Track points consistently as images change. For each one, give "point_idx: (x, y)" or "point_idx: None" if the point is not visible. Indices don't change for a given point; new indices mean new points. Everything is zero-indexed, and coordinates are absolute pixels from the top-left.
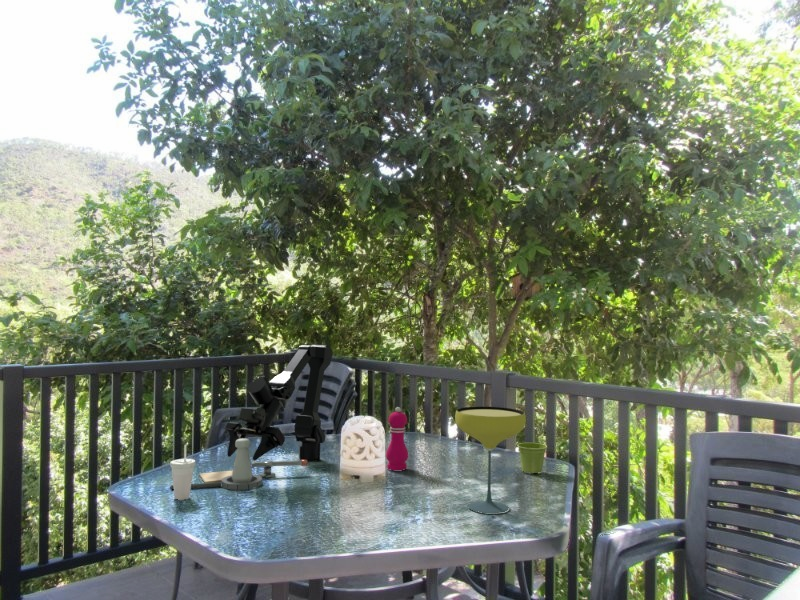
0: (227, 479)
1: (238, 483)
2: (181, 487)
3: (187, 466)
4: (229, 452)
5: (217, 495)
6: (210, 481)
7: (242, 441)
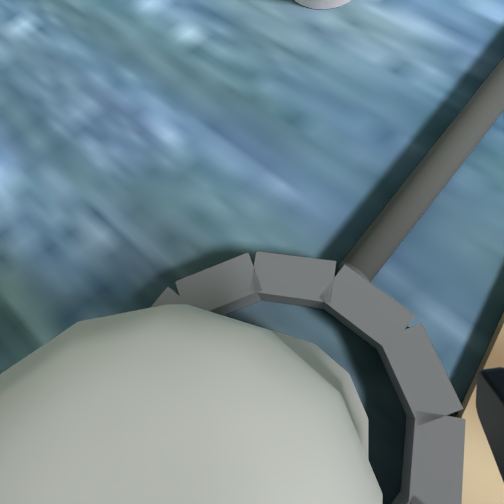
0: (387, 360)
1: None
2: None
3: None
4: (496, 400)
5: (198, 130)
6: None
7: (8, 380)
